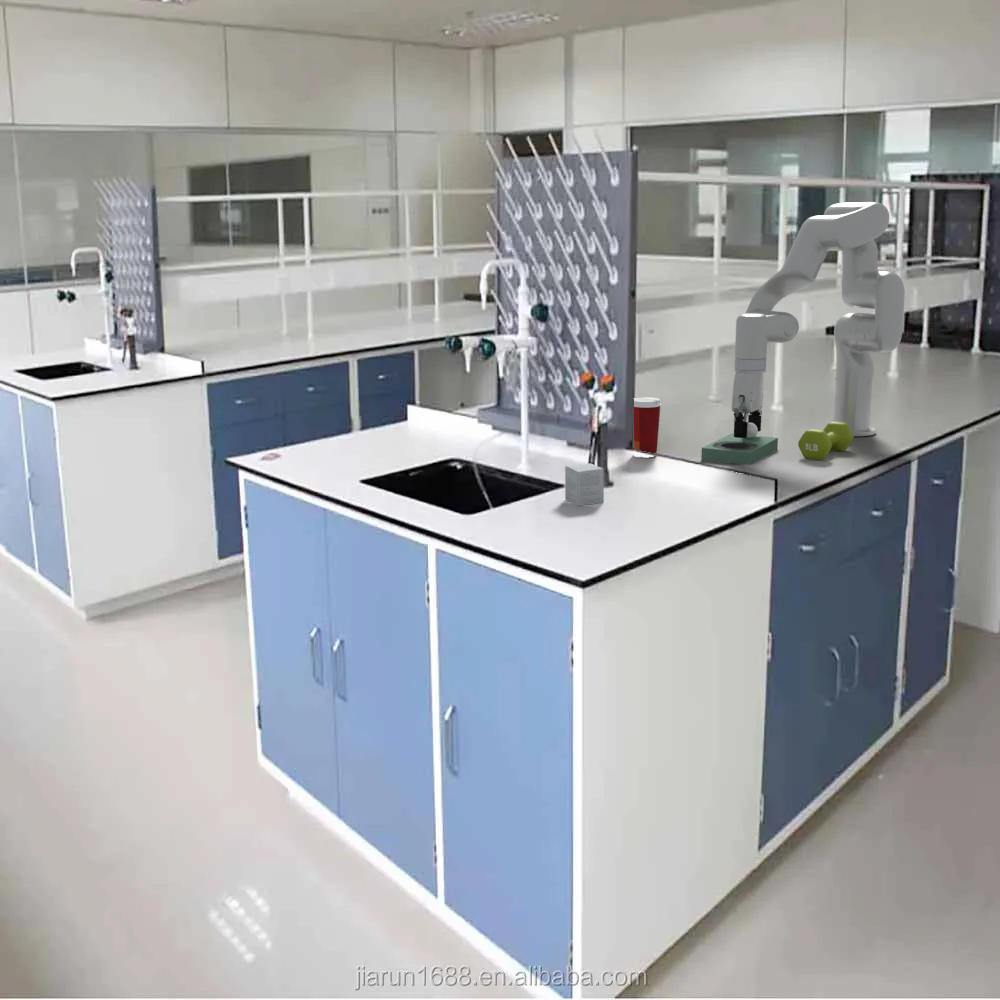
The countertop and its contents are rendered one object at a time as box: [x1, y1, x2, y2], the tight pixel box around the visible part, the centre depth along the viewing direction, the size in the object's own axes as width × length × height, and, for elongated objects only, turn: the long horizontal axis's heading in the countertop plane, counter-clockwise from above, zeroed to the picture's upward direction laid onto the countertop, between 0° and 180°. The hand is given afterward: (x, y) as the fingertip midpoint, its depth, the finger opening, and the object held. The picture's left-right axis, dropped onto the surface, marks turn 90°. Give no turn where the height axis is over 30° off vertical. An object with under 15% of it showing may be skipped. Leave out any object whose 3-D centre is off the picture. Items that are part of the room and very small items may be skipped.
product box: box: [564, 462, 605, 507], centre depth 219 cm, size 6×6×7 cm
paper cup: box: [633, 396, 663, 453], centre depth 259 cm, size 8×8×14 cm
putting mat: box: [700, 433, 779, 466], centre depth 260 cm, size 20×12×3 cm, turn 147°
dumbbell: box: [797, 420, 855, 461], centre depth 258 cm, size 16×8×7 cm, turn 138°
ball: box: [747, 422, 759, 439], centre depth 264 cm, size 4×4×4 cm
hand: (747, 434), depth 263 cm, fingers open, 9 cm apart
